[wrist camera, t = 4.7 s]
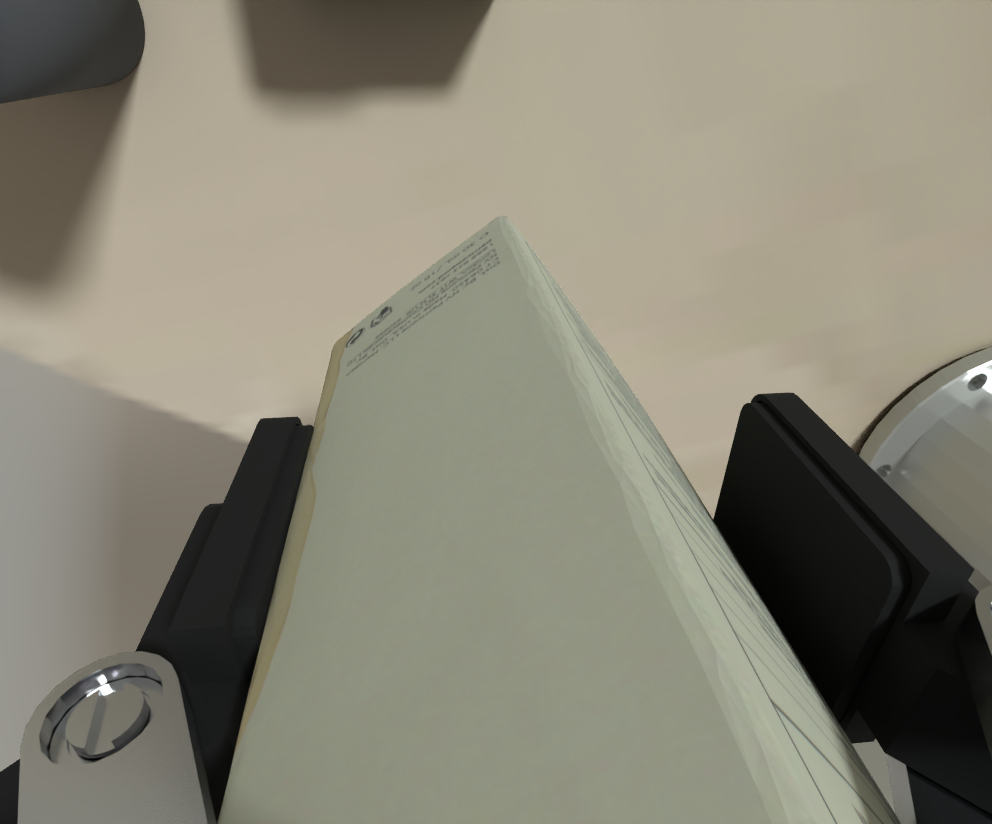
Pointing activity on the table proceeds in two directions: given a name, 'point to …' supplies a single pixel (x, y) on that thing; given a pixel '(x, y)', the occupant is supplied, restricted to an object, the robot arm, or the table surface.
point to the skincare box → (517, 595)
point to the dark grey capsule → (66, 45)
